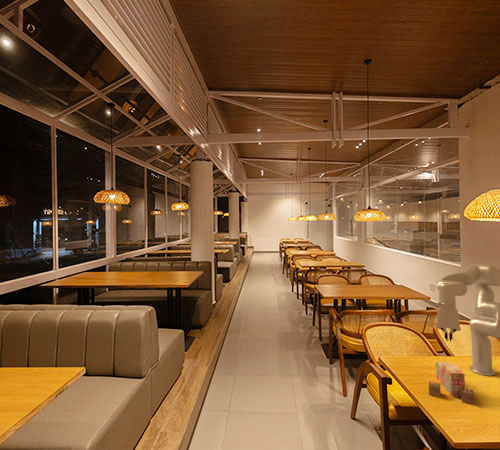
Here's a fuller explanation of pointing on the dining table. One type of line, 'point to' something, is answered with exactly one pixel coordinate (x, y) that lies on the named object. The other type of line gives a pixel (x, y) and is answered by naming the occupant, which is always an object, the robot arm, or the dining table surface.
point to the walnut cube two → (467, 396)
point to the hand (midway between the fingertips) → (448, 340)
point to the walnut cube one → (434, 389)
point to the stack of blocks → (450, 378)
